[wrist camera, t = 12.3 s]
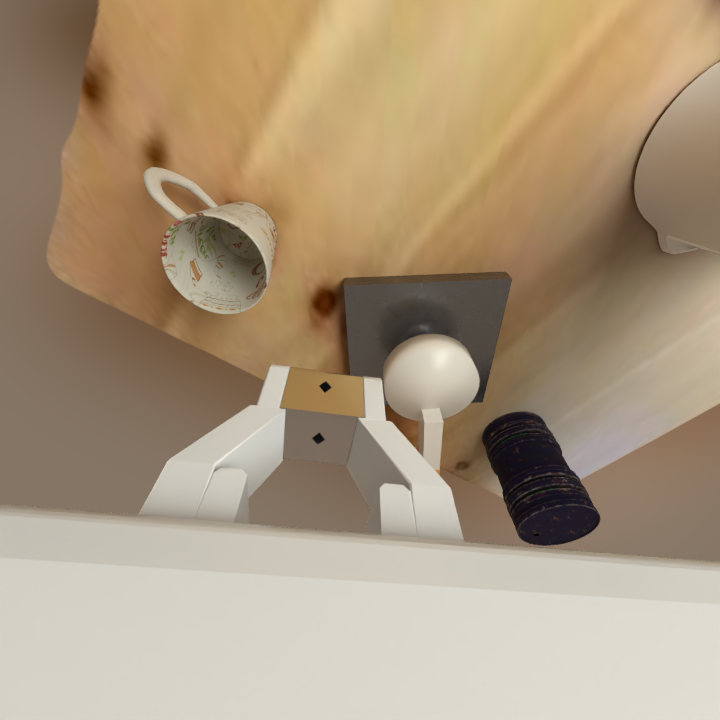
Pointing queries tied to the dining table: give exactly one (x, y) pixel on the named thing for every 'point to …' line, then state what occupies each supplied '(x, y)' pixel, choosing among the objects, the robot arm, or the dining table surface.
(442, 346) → the white handled oval piece
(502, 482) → the dark blue ribbed cylinder
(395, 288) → the plate
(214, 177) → the dining table surface
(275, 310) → the dining table surface
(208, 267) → the mug
